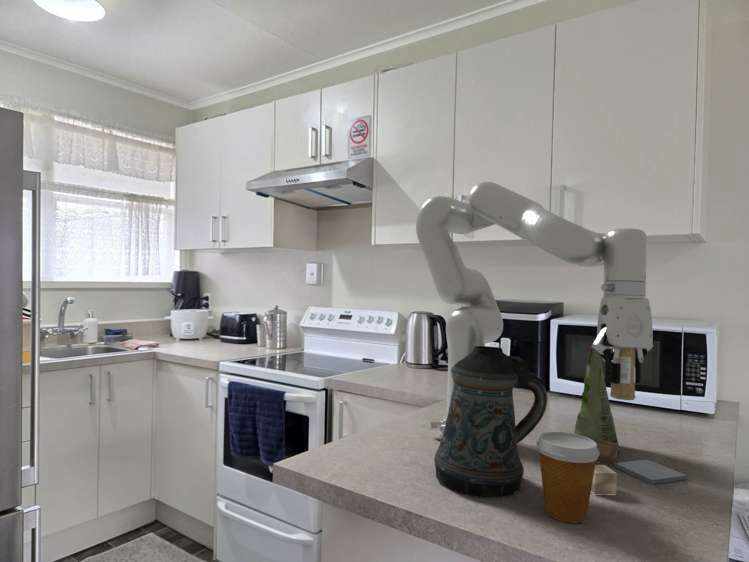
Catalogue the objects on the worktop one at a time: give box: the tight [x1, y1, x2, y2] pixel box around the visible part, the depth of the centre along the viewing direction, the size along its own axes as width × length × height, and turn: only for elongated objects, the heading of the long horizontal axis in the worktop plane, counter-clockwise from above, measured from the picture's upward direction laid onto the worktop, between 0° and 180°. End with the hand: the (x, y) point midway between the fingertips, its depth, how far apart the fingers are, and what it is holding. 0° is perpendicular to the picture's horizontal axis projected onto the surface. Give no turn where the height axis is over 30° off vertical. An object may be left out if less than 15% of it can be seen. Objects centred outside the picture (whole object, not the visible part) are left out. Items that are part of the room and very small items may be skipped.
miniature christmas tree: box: [573, 339, 620, 453], centre depth 113 cm, size 11×12×25 cm
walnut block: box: [594, 439, 618, 467], centre depth 103 cm, size 4×4×4 cm
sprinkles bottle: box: [609, 345, 636, 401], centre depth 96 cm, size 5×5×13 cm
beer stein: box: [433, 345, 548, 499], centre depth 91 cm, size 16×19×25 cm
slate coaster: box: [614, 459, 688, 485], centre depth 97 cm, size 9×9×1 cm
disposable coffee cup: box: [536, 431, 600, 524], centre depth 78 cm, size 10×10×12 cm
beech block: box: [591, 464, 618, 496], centre depth 88 cm, size 4×4×4 cm
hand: (622, 381), depth 96 cm, fingers closed on sprinkles bottle, 4 cm apart
